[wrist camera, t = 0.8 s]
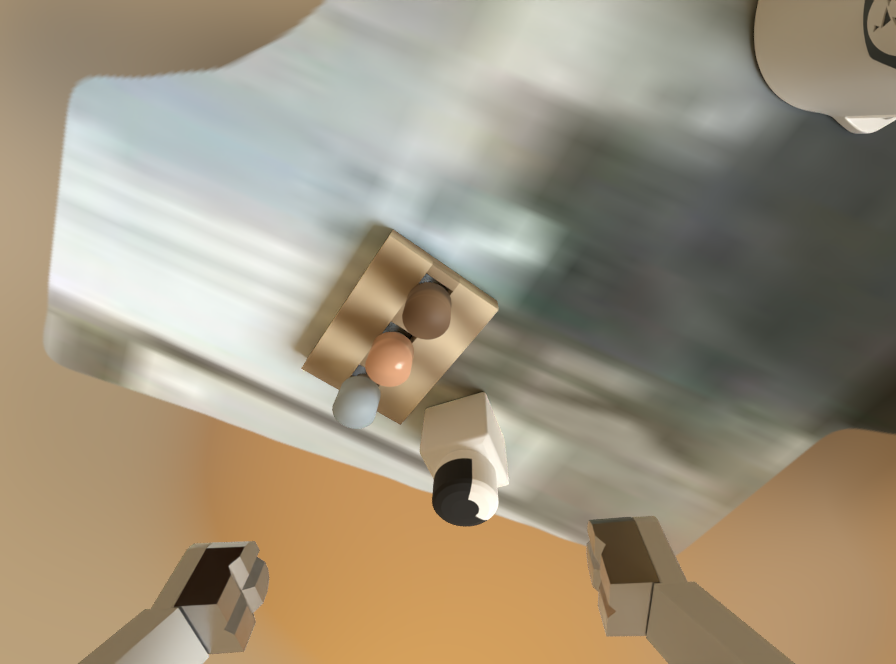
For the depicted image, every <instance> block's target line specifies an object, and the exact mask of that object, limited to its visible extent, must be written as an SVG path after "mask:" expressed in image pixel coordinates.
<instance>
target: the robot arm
mask: <svg viewBox="0 0 896 664" xmlns="http://www.w3.org/2000/svg"><path fill="white" fill-rule="evenodd" d="M754 44H755V52H756V58H757V62H758V65H759V68H760V71H761V73H762V75H763V77H764V79H765V81H766V83H767V84H768V85H769V87H770V88H771V89H772V91H773V92H774V93H775V94H776V95H777V96H778V97H780V98H781V99H782V100H784V101H785V102H787V103H788V104H790V105H792V106H794V107H797V108H799V109H803V110H806V111H812V112H817V113H823V114H826V115H829V116H832V117H833V118H834V119H835V120H836V121H837V122H838V123H839V124H841V125H842V126H843V127H844V128H845V129H847V130H848V131H850V132H852V133H856V134H864V133H872V132H875V131H877V130H879V129H881V128H882V127H884V126H886V125H888V124H889V123H891V122H893V121H894V120H896V0H759V1H758V5H757V10H756V16H755V25H754ZM587 532H588V536H589V539H590V541H589V542H588V543H587V562H588V568H589V573H590V577H591V581H592V585H593V587H594V588H595V589H596V590H597V591H598V592H599V598H598V607H599V611H600V614H601V618H602V621H603V625H604V629H605V632H606V636H646V638H647V640H648V641H649V642H650V643H651V644H652V645H653V646H654V648H655V649H656V650H657V651H658V652H659V653H660V654H661V656H662V657H663V658H664V659H665V660H666V661H667V662H668V664H795V663H794V662H793V661H791V660H790V659H789V658H788V657H786V656H785V655H784V654H783V653H782V652H780V651H779V650H778V649H777V648H775V647H774V646H773V645H772V644H770V643H769V642H768V641H767V640H766V639H764V638H763V637H762V636H761V635H759V634H758V633H757V632H756V631H754V630H753V629H752V628H751V627H750V626H748V625H747V624H746V623H745V622H743V621H742V620H741V619H740V618H738V617H737V616H736V615H735V614H734V613H732V612H731V611H730V610H729V609H727V608H726V607H725V606H724V605H722V604H721V603H720V602H719V601H717V600H716V599H715V598H714V597H713V596H711V595H710V594H709V593H708V592H707V591H705V590H704V589H703V588H701V587H700V586H699V585H698V584H697V583H695V582H687V580H686V578H685V576H684V573H683V571H682V569H681V567H680V565H679V563H678V561H677V559H676V557H675V554H674V552H673V550H672V548H671V546H670V544H669V542H668V540H667V538H666V535H665V533H664V531H663V529H662V527H661V525H660V523H659V521H658V519H657V518H656V517H655V516H645V517H632V518H631V517H622V518H609V519H596V520H589V521H588V523H587ZM258 553H259V548H258V546H257V544H256V542H255V541H252V542H220V543H198V544H193V545H191V546H190V547H189V548H188V549H187V550H186V551H185V553H184V555H183V556H182V558H181V560H180V561H179V563H178V564H177V566H176V568H175V570H174V571H173V573H172V575H171V576H170V578H169V579H168V581H167V583H166V584H165V586H164V588H163V589H162V591H161V592H160V594H159V596H158V598H157V599H156V601H155V602H154V604H153V606H152V607H151V609H145V610H143V611H142V612H141V613H140V614H138V615H137V616H136V617H135V618H133V619H132V620H131V621H130V622H128V623H127V624H126V625H125V626H124V627H122V628H121V629H120V630H119V631H117V632H116V633H115V634H114V635H112V636H111V637H110V638H109V639H108V640H106V641H105V642H104V643H103V644H101V645H100V646H99V647H98V648H97V649H95V650H94V651H93V652H92V653H90V654H89V655H88V656H87V657H85V658H84V659H83V660H82V661H81V662H80V663H78V664H203V663H204V662H205V661H206V660H207V658H208V657H209V655H208V654H219V653H233V652H244V650H245V648H246V645H247V643H248V640H249V637H250V635H251V633H252V630H253V627H254V625H255V618H254V614H253V613H254V611H255V610H257V609H258V608H259V606H261V604H263V602H264V599H265V596H266V594H267V590H268V583H269V572H268V568H267V566H266V563H265V562H264V561H263V560H261V559H260V558H258V557H257V555H258Z"/></svg>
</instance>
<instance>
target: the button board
mask: <svg viewBox="0 0 896 664" xmlns="http://www.w3.org/2000/svg"><path fill="white" fill-rule="evenodd" d="M426 273H427V274H428V275H430V276H431V277H433V278H434V279H436V280H437V281H439V282H440V283H441V284H443V285H444V286H446V287H447V288H449V290H448V291H447V292H448V293H449V295H450V297H451V302H452V306H451V321H450V325H449V328H448V329H447V331H446V332H445V333H444V334H443V335H441V336H440V337H438V338H435V339H431V340H424V339H420V338H417V337H415V336H412V338H411V339H410V341H411V343H412V345H413V347H414V357H413V362H412V367H411V372H410V375H409V377H408V379H407V380H406V381H405V382H404V383H402V384H400V385H398V386H394V387H386V386H382V385H379V384H377V383H376V384H377V385H378V387H379V389H380V392H381V397H380V401H379V404H378V408H377V412H379V413H381V414H382V415H384V416H386V417H388V418H389V419H391V420H393V421H395V422H397V423H398V424H400V425H401V424H402V422H403V421H404V420H405V419H406V418H407V416H408V415H409V414H410V413H411V412H412V411H413V409H414V408H415V407H416V406H417V405H418V404H419V402H420V401H421V400H422V399H423V398H424V397H425V395H426V394H427V393H428V392H429V391H430V390H431V388H432V387H433V386H434V385H435V384H436V383H437V381H438V380H439V379H440V378H441V377H442V375H443V374H444V373H445V372H446V371H447V370H448V368H449V367H450V366H451V365H452V364H453V363H454V361H455V360H456V359H457V358H458V357H459V356H460V354H461V353H462V352H463V351H464V350H465V349H466V347H467V346H468V345H469V344H470V343H471V342H472V340H473V339H474V338H475V337H476V336H477V334H478V333H479V332H480V331H481V330H482V329H483V327H484V326H485V325H486V324H487V323H488V322H489V320H490V319H491V318H492V317H493V316H494V315H495V313H496V312H497V311H498V310H499V309H498V303H497V301H496V300H495V299H493V298H492V297H491V296H489V295H488V294H486V293H485V292H483V291H482V290H480V289H479V288H477V287H476V286H475V285H473V284H472V283H470V282H469V281H467V280H466V279H464V278H463V277H462V276H460V275H459V274H457V273H456V272H454V271H453V270H451V269H450V268H448V267H447V266H446V265H444V264H443V263H441V262H440V261H438V260H437V259H435V258H434V257H432V256H431V255H430V254H428V253H427V252H425V251H424V250H422V249H421V248H419V247H418V246H417V245H415V244H414V243H412V242H411V241H409V240H408V239H406V238H405V237H403V236H402V235H401V234H399V233H398V232H396V231H395V230H392V232H391V233H390V235H389V236H388V238H387V239H386V241H385V242H384V244H383V245H382V247H381V248H380V250H379V251H378V253H377V254H376V256H375V257H374V259H373V260H372V262H371V263H370V265H369V266H368V268H367V269H366V271H365V272H364V274H363V275H362V277H361V278H360V280H359V281H358V283H357V284H356V286H355V287H354V289H353V290H352V292H351V293H350V295H349V296H348V298H347V299H346V301H345V302H344V304H343V305H342V307H341V308H340V310H339V311H338V313H337V314H336V316H335V318H334V319H333V321H332V322H331V324H330V325H329V327H328V328H327V330H326V331H325V333H324V334H323V336H322V337H321V339H320V340H319V342H318V343H317V345H316V346H315V348H314V349H313V351H312V352H311V354H310V355H309V357H308V358H307V360H306V362H305V363H304V365H303V367H302V368H301V369H303V370H305V371H307V372H308V373H310V374H312V375H314V376H315V377H317V378H319V379H321V380H322V381H324V382H326V383H328V384H329V385H331V386H333V387H335V388H337V389H338V390H340V388H341V385H342V384H343V382H344V381H345V380H346V379H348V378H350V377H353V375H352V373H353V372H354V371H355V369H356V368H357V367H358V365H359V364H360V365H362V366H363V367H365V363H366V360H367V357H368V354H369V352H370V349H371V346H372V344H373V341H374V340H375V339H376V337H378V336H379V335H380V334H382V333H383V331H384V330H385V328H386V327H387V326H388V324H389V323H390V322H393V323H395V324H396V325H398V326H399V327H401V328H403V329H404V330H406V328H405V326H404V324H403V320H402V314H403V310H404V307H405V303H406V299H407V296H408V294H409V292H410V291H411V289H412V288H414V287H415V286H416V285H418V284H419V282H420V281H421V279H422V278H423V277H424V275H425V274H426ZM406 331H407V330H406ZM407 332H408V331H407Z"/></svg>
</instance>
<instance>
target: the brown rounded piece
mask: <svg viewBox="0 0 896 664" xmlns="http://www.w3.org/2000/svg"><path fill="white" fill-rule="evenodd" d="M451 306H452V302H451V297H450V295H449V293H448V292H447V291H446V289H445V288H443V287H442V286H440V285H438V284H436V283H431V282H426V283H421V284H418V285H416V286H415V287H414V288H412V289H411V291H410V292H409V294H408V296H407V299H406V303H405V307H404V310H403V314H402V320H403V324H404V326H405V328H406V330H407V331H408V332H409V333H410V334H412V335H413V336H415V337H417V338H420V339H424V340H431V339H435V338H438V337H440V336H441V335H443V334H444V333H445V332H446V331H447V329H448V328H449V325H450V321H451Z"/></svg>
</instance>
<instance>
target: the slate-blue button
mask: <svg viewBox="0 0 896 664" xmlns="http://www.w3.org/2000/svg"><path fill="white" fill-rule="evenodd" d="M380 397H381V392H380V389H379V387H378V385H377V384H376V383H375V382H374V381H373V380H371V378H370V377H369V376H368V374H365V373H362V374H359V375H357V376H353V377H350V378H348V379H346V380H345V381H344V382H343V384H342V385H341V388H340V390H339V392H338V395H337V397H336V400H335V402H334V404H333V409H332V410H333V415H334V417H335V418H336V420H337V421H338V422H339V423H341V424H342V425H344V426H346V427H348V428H353V429H360V428H364V427H367V426H368V425H370V424H371V423H372V422H373V420H374V418H375V415H376V411H377V408H378V404H379V401H380Z"/></svg>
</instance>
